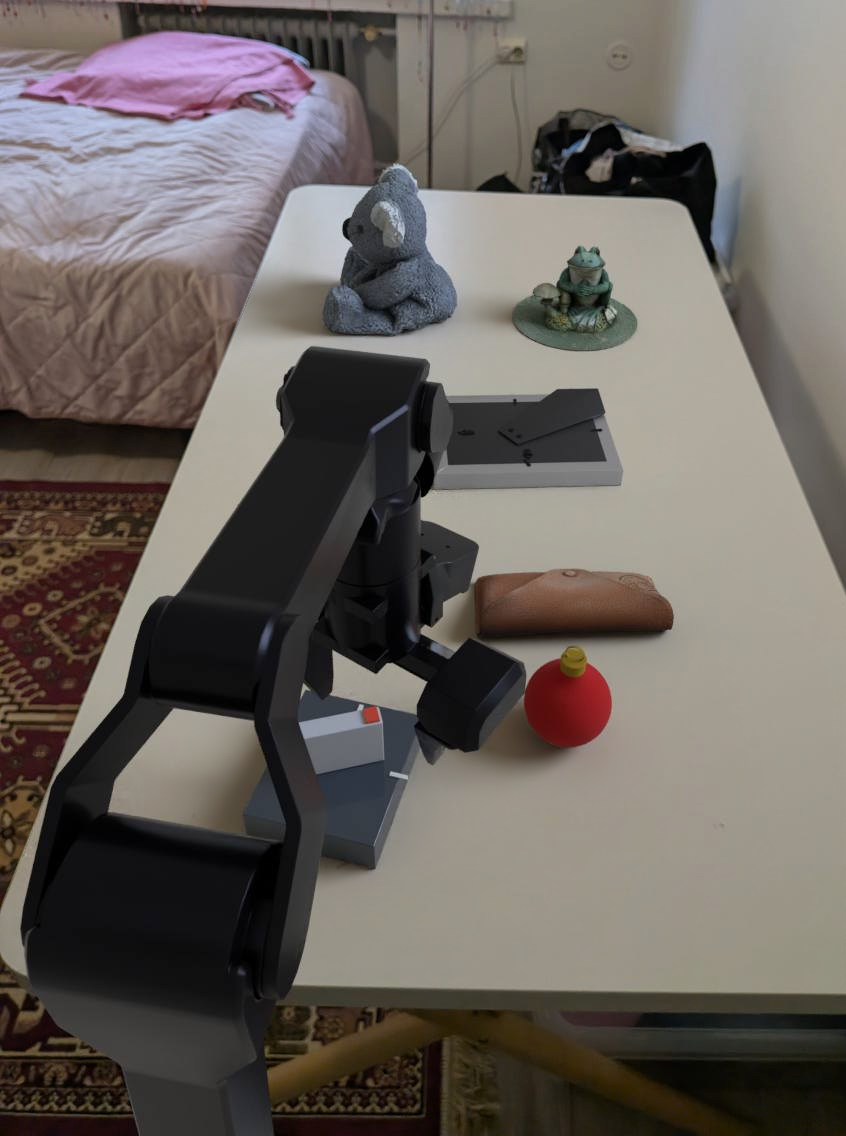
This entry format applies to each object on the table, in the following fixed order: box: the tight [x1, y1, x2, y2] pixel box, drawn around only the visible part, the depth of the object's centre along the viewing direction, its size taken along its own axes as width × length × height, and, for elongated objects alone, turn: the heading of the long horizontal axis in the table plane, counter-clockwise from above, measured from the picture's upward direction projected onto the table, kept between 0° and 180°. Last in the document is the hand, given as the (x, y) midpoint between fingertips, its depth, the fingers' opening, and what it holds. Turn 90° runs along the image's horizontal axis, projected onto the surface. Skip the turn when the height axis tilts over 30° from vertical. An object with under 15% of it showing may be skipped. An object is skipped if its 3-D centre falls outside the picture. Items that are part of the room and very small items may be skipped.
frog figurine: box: [512, 245, 638, 352], centre depth 133 cm, size 18×18×12 cm
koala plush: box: [321, 162, 458, 337], centre depth 130 cm, size 17×18×20 cm
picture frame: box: [433, 388, 624, 490], centre depth 111 cm, size 16×3×21 cm
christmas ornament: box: [523, 644, 613, 748], centre depth 76 cm, size 7×7×10 cm
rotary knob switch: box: [242, 689, 421, 870], centre depth 74 cm, size 12×11×3 cm
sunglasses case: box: [474, 568, 675, 638], centre depth 89 cm, size 18×7×7 cm
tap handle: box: [299, 706, 384, 774], centre depth 71 cm, size 7×2×5 cm, turn 106°
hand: (378, 726), depth 64 cm, fingers open, 9 cm apart
